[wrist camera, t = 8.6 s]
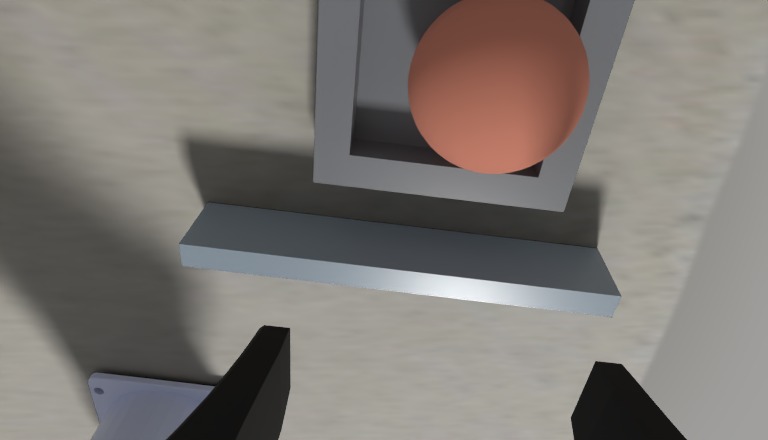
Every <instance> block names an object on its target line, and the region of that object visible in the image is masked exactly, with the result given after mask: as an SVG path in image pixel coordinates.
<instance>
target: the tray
mask: <svg viewBox="0 0 768 440" xmlns="http://www.w3.org/2000/svg"><path fill="white" fill-rule="evenodd" d="M460 1H462V0H319V8H318V41H317V73H316V105H315V137H314V169H313V182H314V183H323V184H331V185H339V186H348V187H356V188H365V189H373V190H382V191H390V192H398V193H407V194H415V195H424V196H432V197H440V198H449V199H457V200H466V201H474V202H483V203H491V204H499V205H508V206H516V207H525V208H533V209H541V210H550V211H558V212H564V210H565V207H566V204H567V201H568V198H569V195H570V192H571V189H572V186H573V183H574V180H575V177H576V174H577V171H578V168H579V165H580V162H581V159H582V156H583V153H584V150H585V147H586V144H587V141H588V138H589V135H590V132H591V129H592V126H593V123H594V120H595V117H596V114H597V111H598V108H599V105H600V102H601V99H602V96H603V93H604V90H605V87H606V84H607V82H608V79H609V76H610V73H611V70H612V67H613V64H614V61H615V58H616V55H617V52H618V49H619V46H620V43H621V40H622V37H623V34H624V31H625V28H626V25H627V22H628V19H629V16H630V13H631V10H632V7H633V4H634V1H635V0H544V1H546V2H548V3H550V4H551V5H553V6H554V7H555V8H556V9H558V10H559V11H560V12H561V13H562V14H564V15H565V16H566V18H567V19H568V20H569V21H570V22H571V23H572V25H573V26H574V28H575V29H576V31H577V32H578V34H579V36H580V38H581V40H582V43H583V45H584V48H585V51H586V54H587V58H588V64H589V75H590V80H589V91H588V96H587V100H586V104H585V108H584V110H583V113H582V116H581V118H580V120H579V122H578V124H577V125H576V127H575V129H574V130H573V132H572V133H571V134H570V136H569V137H568V138H567V140H566V141H565V142H564V143H563V144H562V145H561V146H560V147H559V148H558V149H557V150H556V151H554V152H553V153H552V154H551V155H549V156H548V157H546V158H545V159H543V160H542V161H540V162H538V163H536V164H534V165H532V166H530V167H528V168H525V169H522V170H518V171H514V172H510V173H503V174H484V173H477V172H473V171H470V170H466V169H463V168H461V167H459V166H456V165H454V164H452V163H451V162H449V161H447V160H446V159H444V158H443V157H441V156H440V155H439V154H438V153H437V152H436V151H435V150H434V149H432V148H431V147H430V145H429V144H428V143H427V141H426V140H425V139H424V137H423V136H422V135H421V133H420V131H419V130H418V128H417V126H416V124H415V121H414V118H413V116H412V113H411V109H410V104H409V98H408V75H409V70H410V65H411V62H412V58H413V55H414V53H415V50H416V48H417V46H418V44H419V42H420V40H421V38H422V37H423V35H424V33H425V32H426V31H427V29H428V28H429V27H430V25H431V24H432V23H433V22H434V21H435V20H436V19H437V18H438V17H439V16H440V15H441V14H442V13H444V12H445V11H446V10H447V9H448V8H450V7H452V6H453V5H455V4H456V3H458V2H460Z"/></svg>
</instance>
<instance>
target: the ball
mask: <svg viewBox="0 0 768 440" xmlns="http://www.w3.org/2000/svg"><path fill="white" fill-rule="evenodd" d="M589 80H590V75H589V64H588V58H587V54H586V51H585V48H584V45H583V43H582V40H581V38H580V36H579V34H578V32H577V31H576V29H575V28H574V26H573V25H572V23H571V22H570V21H569V20H568V19H567V18H566V16H565V15H564V14H562V13H561V12H560V11H559V10H558V9H556V8H555V7H554V6H553V5H551V4H550V3H548V2H546V1H544V0H462V1H460V2H458V3H456V4H455V5H453V6H452V7H450V8H448V9H447V10H446V11H445V12H444V13H442V14H441V15H440V16H439V17H438V18H437V19H436V20H435V21H434V22H433V23H432V24H431V25H430V27H429V28H428V29H427V31H426V32H425V33H424V35H423V37H422V38H421V40H420V42H419V44H418V46H417V48H416V50H415V53H414V55H413V58H412V62H411V65H410V70H409V75H408V98H409V104H410V109H411V113H412V116H413V118H414V121H415V124H416V126H417V128H418V130H419V131H420V133H421V135H422V136H423V137H424V139H425V140H426V141H427V143H428V144H429V145H430V147H431V148H432V149H434V150H435V151H436V152H437V153H438V154H439V155H440V156H441V157H443V158H444V159H446V160H447V161H449V162H451V163H452V164H454V165H456V166H459V167H461V168H463V169H466V170H470V171H473V172H477V173H484V174H503V173H510V172H514V171H518V170H522V169H525V168H528V167H530V166H532V165H534V164H536V163H538V162H540V161H542V160H543V159H545V158H546V157H548V156H549V155H551V154H552V153H553V152H554V151H556V150H557V149H558V148H559V147H560V146H561V145H562V144H563V143H564V142H565V141H566V140H567V138H568V137H569V136H570V134H571V133H572V132H573V130H574V129H575V127H576V125H577V124H578V122H579V120H580V118H581V116H582V113H583V110H584V108H585V104H586V100H587V96H588V91H589Z"/></svg>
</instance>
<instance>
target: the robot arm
mask: <svg viewBox="0 0 768 440" xmlns="http://www.w3.org/2000/svg"><path fill="white" fill-rule="evenodd" d="M88 385H89V388H90V391H91V395H92V398H93V401H94V405H95V408H96V411H97V415H98V418H99V421H100V425H99V427H98V428H97V430H96V431H95V433H94V435H93V436H92V438H91V440H278V438H279V435H280V432H281V429H282V424H283V419H284V415H285V410H286V406H287V401H288V396H289V391H290V328H284V327H275V326H266V325H264V326H263V327H261V328H260V329H259V330H258V332H257V333H256V335H255V336H254V337H253V339H252V340H251V342H250V343H249V344H248V346H247V347H246V349H245V350H244V351H243V353H242V354H241V355H240V357H239V358H238V359H237V360H236V362H235V363H234V364H233V365H232V367H231V368H230V369H229V371H228V372H227V373H226V374H225V375H224V377H223V378H222V379H221V380H220V381H219V382H218V384H217V385H216V386H208V385H199V384H191V383H182V382H174V381H166V380H157V379H149V378H140V377H132V376H123V375H115V374H107V373H93V374H92V375H91V376H90V378H89V379H88ZM571 422H572V428H573V435H574V440H687V439H686V438H685V437H684V436H683V435H682V434H681V433H680V432H679V430H678V429H677V428H676V427H675V426H674V425H673V424H672V423H671V421H670V420H669V419H668V418H667V417H666V415H665V414H664V413H663V412H662V411H661V410H660V408H659V407H658V406H657V405H656V404H655V403H654V401H653V400H652V399H651V398H650V397H649V395H648V394H647V393H646V392H645V391H644V390H643V388H642V387H641V386H640V385H639V384H638V382H637V381H636V380H635V379H634V378H633V377H632V375H631V374H630V373H629V372H628V371H627V370H626V369H625V367H624V366H623V365H622V364H616V363H607V362H597V361H596V362H595V364H594V366H593V368H592V371H591V373H590V375H589V378H588V380H587V382H586V384H585V387H584V389H583V391H582V394H581V396H580V398H579V401H578V403H577V405H576V407H575V410H574V412H573V414H572V417H571Z"/></svg>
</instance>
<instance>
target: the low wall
mask: <svg viewBox="0 0 768 440" xmlns="http://www.w3.org/2000/svg"><path fill="white" fill-rule="evenodd" d="M179 249H180V256H181V263H182V266H185V267H194V268H202V269H211V270H219V271H228V272H236V273H244V274H253V275H261V276H270V277H278V278H286V279H295V280H303V281H312V282H320V283H329V284H337V285H345V286H354V287H362V288H371V289H379V290H388V291H396V292H404V293H413V294H421V295H430V296H438V297H447V298H455V299H463V300H472V301H480V302H489V303H497V304H505V305H514V306H522V307H531V308H539V309H548V310H556V311H564V312H573V313H581V314H590V315H598V316H607V317H612V316H613V314H614V312H615V310H616V308H617V305H618V303H619V301H620V299H621V295H620V293H619V291H618V289H617V287H616V285H615V283H614V281H613V279H612V277H611V275H610V273H609V271H608V269H607V267H606V265H605V263H604V261H603V259H602V257H601V255H600V253H599V251H598V249H597V248H589V247H581V246H572V245H564V244H555V243H547V242H538V241H530V240H522V239H513V238H505V237H496V236H488V235H480V234H471V233H463V232H454V231H446V230H437V229H429V228H421V227H412V226H404V225H395V224H387V223H378V222H370V221H362V220H353V219H345V218H336V217H328V216H320V215H311V214H303V213H294V212H286V211H277V210H269V209H261V208H252V207H244V206H235V205H227V204H219V203H210V202H208V203H207V205H206V206H205V207H204V209H203V210H202V212H201V213H200V215H199V216H198V217H197V219H196V220H195V222H194V223H193V225H192V226H191V227H190V229H189V230H188V232H187V233H186V235H185V236H184V237H183V239H182V240H181V242H180V243H179Z"/></svg>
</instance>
